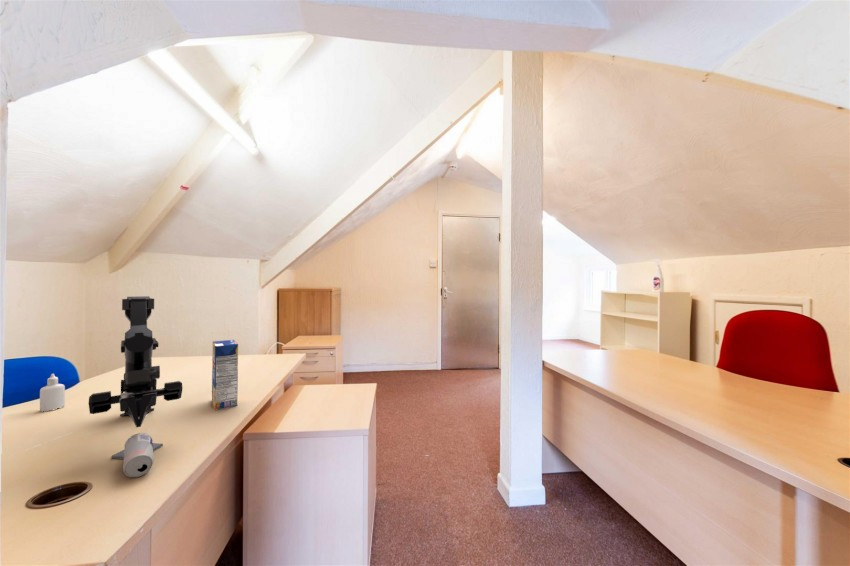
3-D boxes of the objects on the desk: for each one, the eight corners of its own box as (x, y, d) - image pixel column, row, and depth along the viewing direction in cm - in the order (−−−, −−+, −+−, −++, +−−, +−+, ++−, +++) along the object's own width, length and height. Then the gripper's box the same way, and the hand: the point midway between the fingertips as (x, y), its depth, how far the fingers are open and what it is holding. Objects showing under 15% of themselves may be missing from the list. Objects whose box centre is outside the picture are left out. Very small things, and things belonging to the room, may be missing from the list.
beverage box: (214, 410, 116) (215, 346, 116) (211, 400, 125) (212, 341, 125) (237, 405, 120) (238, 344, 120) (232, 397, 129) (233, 339, 129)
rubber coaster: (111, 458, 84) (111, 455, 84) (138, 444, 92) (138, 442, 92) (138, 459, 84) (138, 457, 84) (162, 445, 91) (162, 443, 91)
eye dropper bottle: (41, 409, 115) (42, 373, 115) (65, 405, 118) (66, 371, 118) (38, 413, 111) (38, 376, 111) (63, 409, 115) (63, 374, 115)
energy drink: (136, 457, 86) (136, 482, 76) (118, 445, 83) (116, 470, 74) (157, 440, 88) (159, 462, 79) (140, 427, 86) (141, 449, 77)
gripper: (89, 361, 83) (84, 420, 75) (182, 352, 96) (186, 402, 87) (92, 385, 90) (87, 442, 81) (179, 373, 102) (182, 422, 93)
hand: (138, 426), depth 86 cm, fingers closed
